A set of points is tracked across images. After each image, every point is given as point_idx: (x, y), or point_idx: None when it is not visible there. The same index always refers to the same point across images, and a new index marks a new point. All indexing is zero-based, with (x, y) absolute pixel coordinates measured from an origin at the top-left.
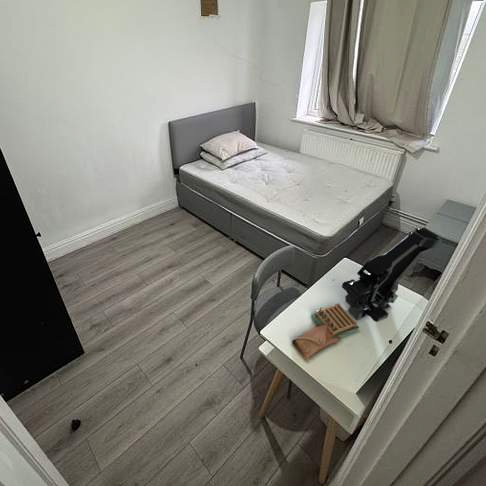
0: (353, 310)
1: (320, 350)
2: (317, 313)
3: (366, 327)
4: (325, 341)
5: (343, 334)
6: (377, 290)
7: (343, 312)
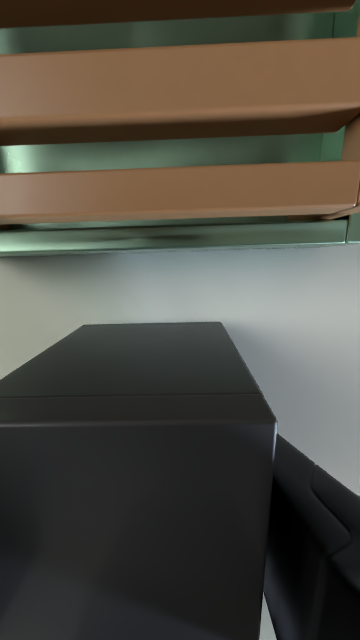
0: (145, 360)
1: None
2: None
3: (12, 371)
4: None
5: None
6: None
7: (209, 225)
